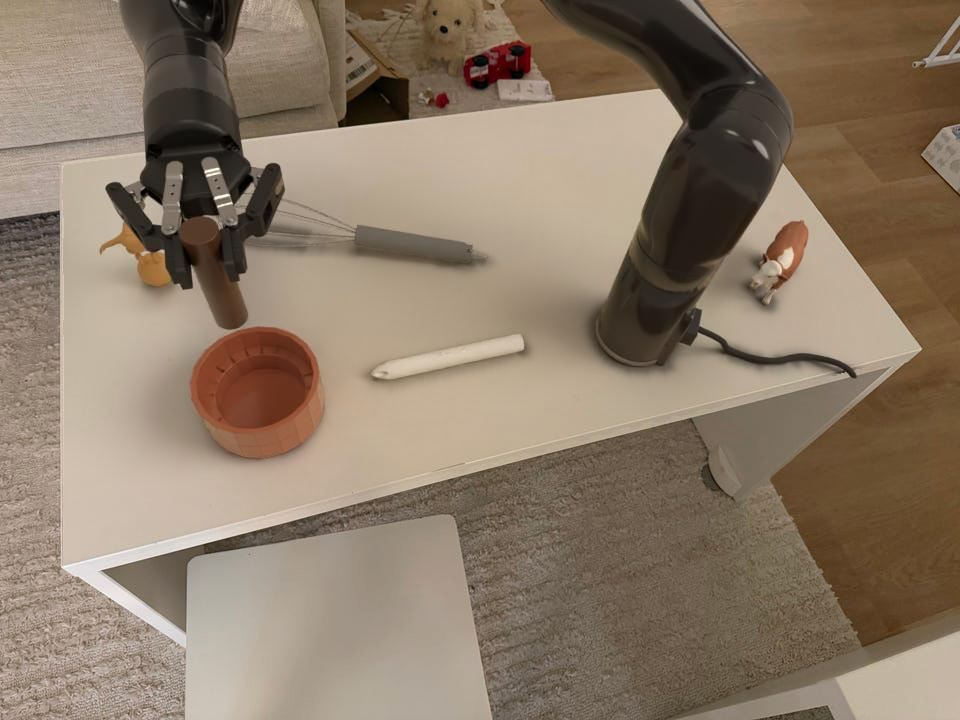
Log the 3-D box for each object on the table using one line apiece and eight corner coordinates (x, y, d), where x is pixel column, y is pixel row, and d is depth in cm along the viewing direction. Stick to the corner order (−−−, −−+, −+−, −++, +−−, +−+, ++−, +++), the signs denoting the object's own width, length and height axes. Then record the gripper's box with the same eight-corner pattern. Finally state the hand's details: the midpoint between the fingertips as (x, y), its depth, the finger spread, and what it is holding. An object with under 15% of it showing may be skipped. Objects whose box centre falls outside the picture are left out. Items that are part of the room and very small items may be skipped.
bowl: (344, 379, 75) (339, 348, 69) (292, 477, 68) (282, 451, 63) (243, 345, 76) (231, 311, 70) (183, 437, 69) (164, 408, 64)
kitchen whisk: (486, 281, 84) (491, 247, 79) (217, 250, 83) (204, 214, 77) (489, 244, 87) (494, 210, 82) (230, 215, 86) (218, 178, 81)
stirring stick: (229, 299, 59) (195, 210, 49) (255, 312, 58) (226, 225, 49) (208, 321, 57) (169, 234, 48) (234, 335, 57) (200, 250, 47)
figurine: (196, 261, 81) (167, 189, 71) (200, 300, 78) (169, 230, 68) (124, 272, 80) (82, 199, 69) (124, 312, 77) (81, 242, 66)
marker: (373, 387, 75) (372, 376, 73) (369, 371, 76) (368, 360, 74) (522, 354, 79) (525, 343, 77) (516, 339, 80) (519, 328, 78)
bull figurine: (727, 305, 86) (755, 264, 79) (768, 246, 92) (797, 204, 85) (757, 323, 85) (788, 284, 78) (797, 262, 91) (829, 221, 84)
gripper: (85, 94, 52) (83, 261, 44) (268, 77, 55) (299, 229, 47) (120, 167, 59) (124, 325, 50) (282, 148, 62) (312, 293, 53)
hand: (209, 278), depth 49 cm, fingers closed on stirring stick, 2 cm apart
